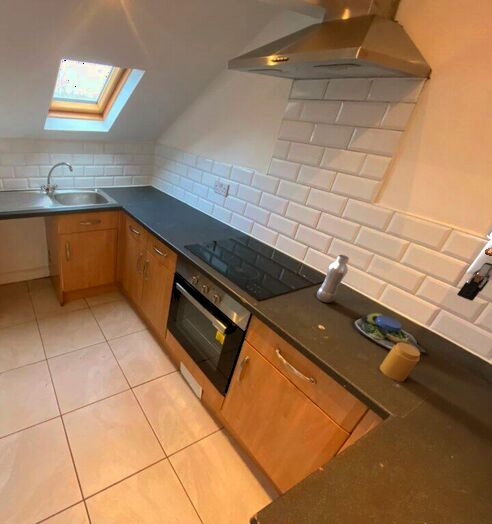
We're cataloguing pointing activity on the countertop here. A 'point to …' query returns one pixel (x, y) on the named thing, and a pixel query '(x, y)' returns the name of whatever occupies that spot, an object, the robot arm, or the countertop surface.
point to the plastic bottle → (333, 279)
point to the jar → (400, 361)
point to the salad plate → (383, 333)
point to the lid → (388, 323)
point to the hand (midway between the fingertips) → (468, 293)
